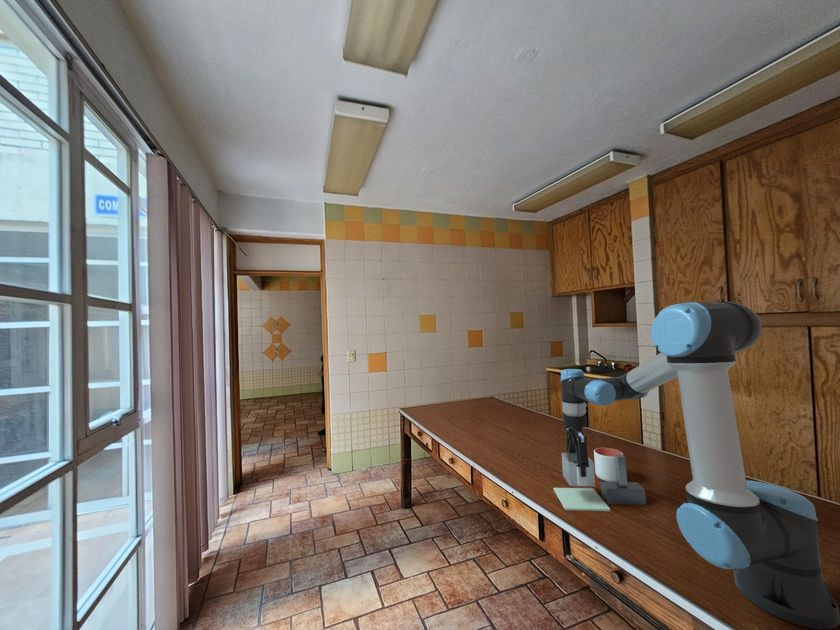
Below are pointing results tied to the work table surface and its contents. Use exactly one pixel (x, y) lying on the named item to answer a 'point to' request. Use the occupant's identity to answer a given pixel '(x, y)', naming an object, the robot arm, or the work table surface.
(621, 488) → the grey block
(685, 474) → the work table surface
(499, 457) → the work table surface
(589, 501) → the mat
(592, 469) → the collar
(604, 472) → the cup
